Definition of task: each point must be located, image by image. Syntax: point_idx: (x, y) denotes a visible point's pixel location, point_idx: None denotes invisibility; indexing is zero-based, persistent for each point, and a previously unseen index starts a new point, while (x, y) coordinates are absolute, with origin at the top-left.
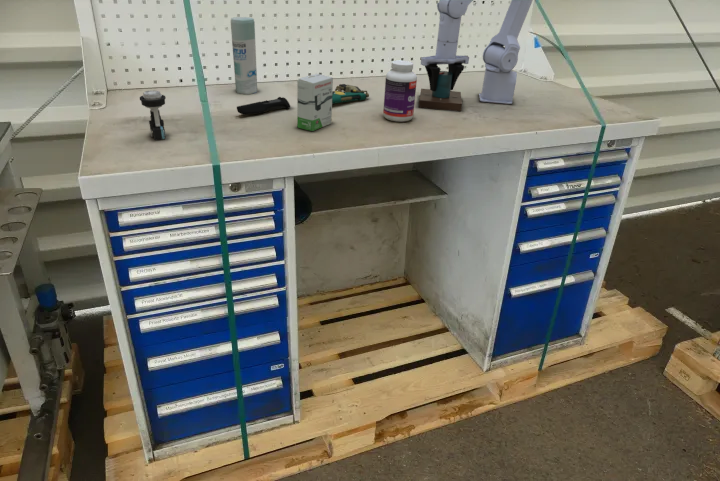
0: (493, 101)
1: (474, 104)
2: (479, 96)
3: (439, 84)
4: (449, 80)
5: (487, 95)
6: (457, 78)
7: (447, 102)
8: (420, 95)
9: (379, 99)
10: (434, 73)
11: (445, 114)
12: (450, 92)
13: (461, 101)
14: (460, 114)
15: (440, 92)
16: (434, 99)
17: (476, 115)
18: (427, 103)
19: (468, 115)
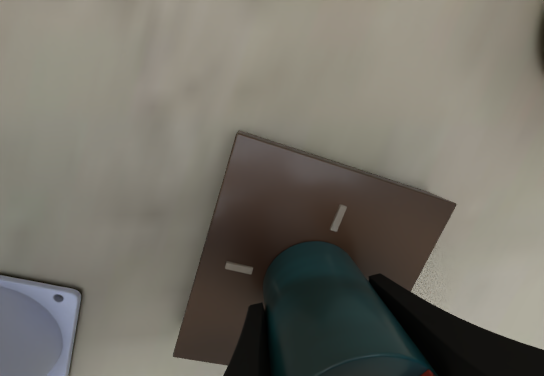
0: (1, 279)
1: (125, 251)
2: (69, 352)
3: (375, 297)
4: (314, 322)
5: (18, 320)
6: (226, 370)
7: (319, 161)
8: (413, 282)
9: (529, 298)
10: (522, 349)
11: (340, 80)
12: (234, 341)
13: (224, 181)
14: (257, 77)
15: (343, 259)
16: (372, 216)
17: (166, 52)
18: (410, 187)
19: (215, 55)
